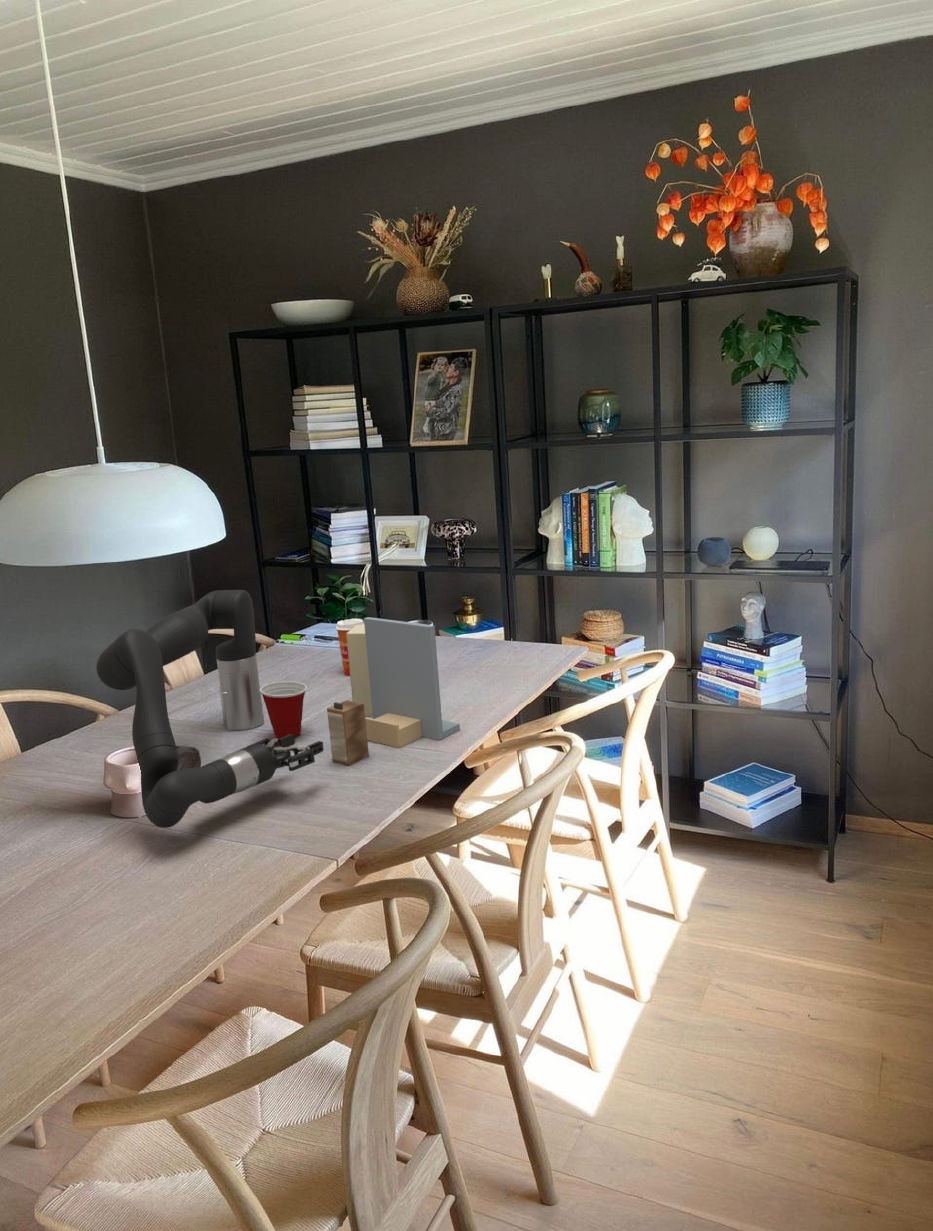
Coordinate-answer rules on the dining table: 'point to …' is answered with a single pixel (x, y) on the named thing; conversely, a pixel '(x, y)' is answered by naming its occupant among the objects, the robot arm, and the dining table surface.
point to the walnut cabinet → (348, 732)
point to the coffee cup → (342, 630)
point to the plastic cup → (284, 706)
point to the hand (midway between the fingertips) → (307, 742)
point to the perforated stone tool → (188, 757)
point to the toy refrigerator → (359, 668)
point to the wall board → (403, 683)
